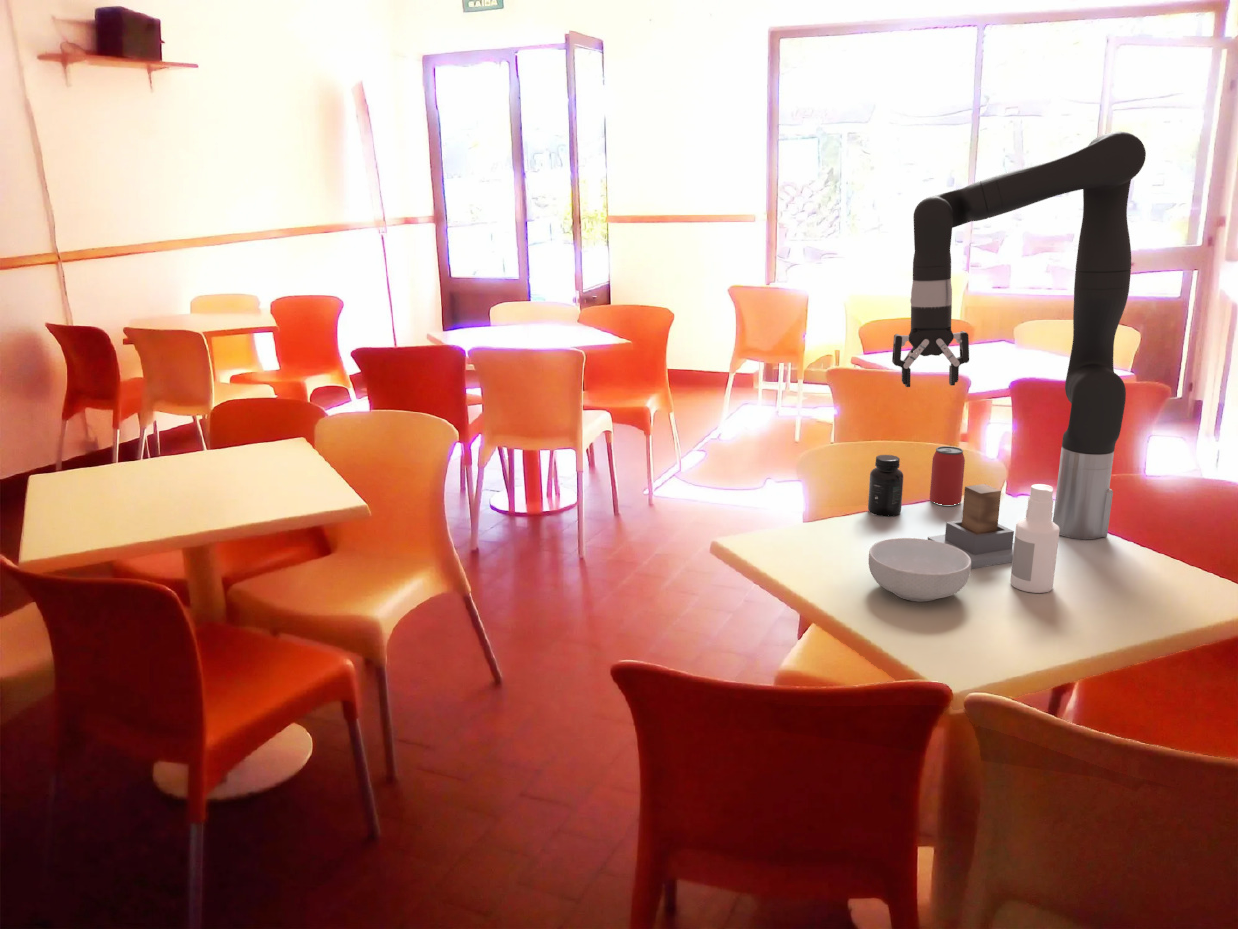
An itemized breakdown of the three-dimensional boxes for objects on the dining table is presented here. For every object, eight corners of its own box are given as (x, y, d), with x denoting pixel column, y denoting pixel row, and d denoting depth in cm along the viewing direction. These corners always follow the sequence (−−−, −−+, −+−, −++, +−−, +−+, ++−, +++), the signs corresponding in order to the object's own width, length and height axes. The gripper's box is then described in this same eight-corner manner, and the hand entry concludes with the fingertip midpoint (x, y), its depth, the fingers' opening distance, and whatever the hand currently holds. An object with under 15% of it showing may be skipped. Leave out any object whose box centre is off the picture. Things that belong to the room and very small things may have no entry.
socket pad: (983, 535, 190) (985, 511, 188) (1029, 559, 178) (1032, 533, 176) (927, 544, 186) (929, 520, 184) (970, 568, 174) (973, 543, 172)
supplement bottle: (860, 510, 205) (864, 456, 202) (884, 504, 209) (887, 451, 205) (884, 519, 200) (887, 464, 196) (908, 513, 203) (911, 458, 200)
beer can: (923, 499, 211) (927, 447, 208) (948, 496, 213) (953, 444, 210) (941, 508, 205) (945, 454, 202) (967, 505, 207) (972, 451, 204)
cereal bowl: (970, 618, 154) (974, 578, 152) (864, 607, 159) (866, 568, 157) (966, 578, 170) (969, 541, 168) (869, 569, 175) (871, 532, 173)
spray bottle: (1020, 574, 171) (1030, 478, 166) (1059, 585, 166) (1071, 486, 161) (1003, 586, 166) (1013, 487, 161) (1042, 597, 162) (1054, 496, 156)
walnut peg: (979, 538, 184) (985, 483, 181) (995, 546, 180) (1001, 490, 177) (960, 541, 183) (964, 486, 180) (975, 549, 179) (980, 493, 176)
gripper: (896, 307, 183) (895, 390, 187) (974, 303, 181) (971, 387, 185) (890, 303, 190) (889, 383, 194) (964, 299, 188) (962, 380, 193)
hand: (929, 385), depth 190 cm, fingers open, 8 cm apart
